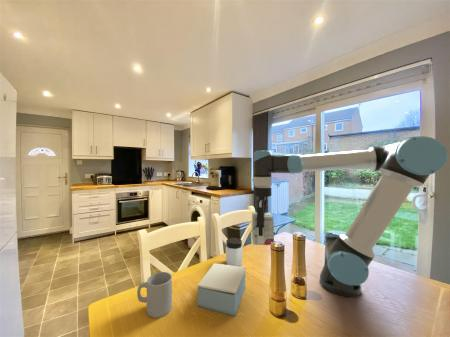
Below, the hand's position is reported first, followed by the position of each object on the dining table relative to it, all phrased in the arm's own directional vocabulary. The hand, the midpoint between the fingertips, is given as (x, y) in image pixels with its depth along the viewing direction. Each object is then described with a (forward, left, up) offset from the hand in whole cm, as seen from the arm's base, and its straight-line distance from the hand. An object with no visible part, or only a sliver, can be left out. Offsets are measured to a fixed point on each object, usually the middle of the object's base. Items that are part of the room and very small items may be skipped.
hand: (262, 238), depth 83 cm
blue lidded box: (+13, +13, -20) cm, 27 cm away
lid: (+13, +13, -12) cm, 22 cm away
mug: (+34, +27, -20) cm, 48 cm away
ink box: (0, 0, -1) cm, 1 cm away
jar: (+16, -13, -20) cm, 29 cm away
